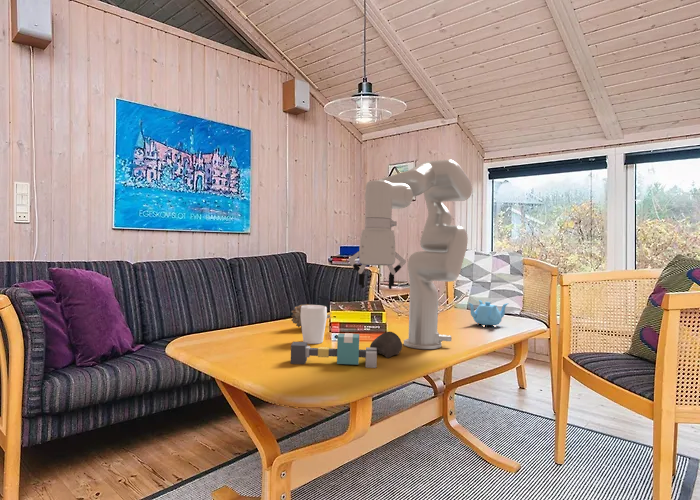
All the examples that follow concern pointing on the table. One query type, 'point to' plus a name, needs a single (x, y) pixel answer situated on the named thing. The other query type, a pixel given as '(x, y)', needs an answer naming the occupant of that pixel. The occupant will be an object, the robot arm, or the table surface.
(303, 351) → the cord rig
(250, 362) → the table surface
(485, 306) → the teapot
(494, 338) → the table surface
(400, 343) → the stone
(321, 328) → the cup
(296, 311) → the pine cone
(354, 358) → the sleeve
